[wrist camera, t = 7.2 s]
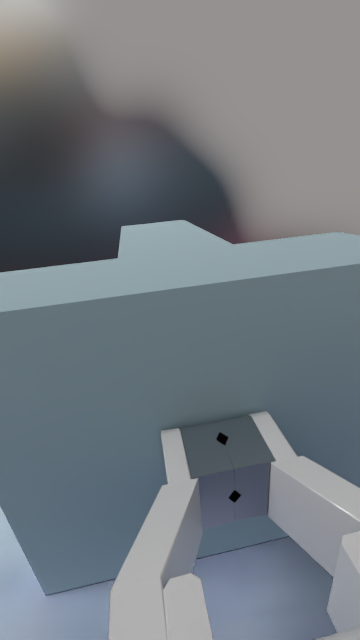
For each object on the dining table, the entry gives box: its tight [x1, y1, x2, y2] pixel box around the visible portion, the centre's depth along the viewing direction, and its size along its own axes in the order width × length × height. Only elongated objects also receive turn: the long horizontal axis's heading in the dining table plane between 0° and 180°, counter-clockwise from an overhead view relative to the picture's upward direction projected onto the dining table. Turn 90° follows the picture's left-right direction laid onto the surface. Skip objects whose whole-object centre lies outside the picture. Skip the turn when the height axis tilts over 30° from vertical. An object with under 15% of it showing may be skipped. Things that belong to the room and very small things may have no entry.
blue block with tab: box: [0, 220, 360, 595], centre depth 15 cm, size 12×14×10 cm
